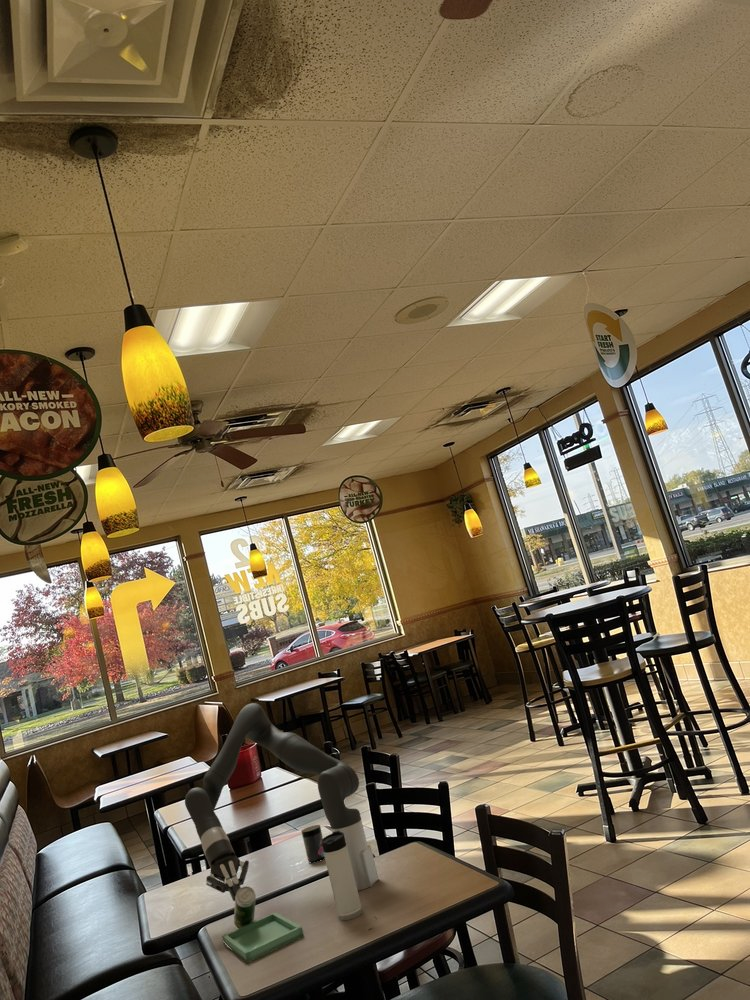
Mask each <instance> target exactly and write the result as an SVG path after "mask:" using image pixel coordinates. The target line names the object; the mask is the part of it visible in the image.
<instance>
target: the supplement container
mask: <svg viewBox="0 0 750 1000" xmlns="http://www.w3.org/2000/svg"><path fill="white" fill-rule="evenodd" d="M301 837H302V840H303V844H304V849H305V853H306V857H307V861H308V863H310V862H311V863H310V864H315V863H314V862H317V861H320V860H322V861H324V860H325V859H324V858H325V856H324V851H323V846H322V842H321V841H322V839H323V838H324V836H323V832H322V828H321V825H320V824H314V825H311V826H308V827H305V828H304V829H302V830H301ZM323 859H324V860H323ZM320 862H321V861H320ZM317 863H318V862H317Z"/></svg>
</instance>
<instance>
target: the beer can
mask: <svg viewBox="0 0 750 1000" xmlns="http://www.w3.org/2000/svg"><path fill="white" fill-rule="evenodd" d="M256 895H257V894H256V892H255V890H254V888H252V887H251V886H248V885H246V886H242V887H241V888H240V889H239V890H238V891H237V894H236V896H235V901H234V910H233V911H234V912H233V913H234V915H233V923H234V926H235V927H236V929H238V928H241V927H243V926H245V925H247V924H250V923H252V922H254V921H255V912H256V911H255V910H256V900H257V899H256V898H257V897H256Z"/></svg>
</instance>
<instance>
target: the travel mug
mask: <svg viewBox="0 0 750 1000" xmlns="http://www.w3.org/2000/svg"><path fill="white" fill-rule="evenodd" d="M321 842H322V846H323V851H324V856H325V859H324V860H325V864H326V868H327V873H328V876H329V881H330V887H331V890H332V894H333V898H334V902H335V907H336V911H337V915H338V919H339V920H340V921H350V920H353V919H355V918H358V917H359V916H360V915H362V913H363V908H362V905H361V900H360V895H359V890H357V886H356V882H355V878H354V874H353V870H352V865H351V861H350V857H349V853H348V849H347V845H346V842H345V837H344V833H343V832H340V831H335V832H333V833H332V832H331V833H330V834H328V835H326V836H324V837H323V839H322V841H321Z"/></svg>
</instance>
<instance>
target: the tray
mask: <svg viewBox="0 0 750 1000" xmlns="http://www.w3.org/2000/svg"><path fill="white" fill-rule="evenodd" d="M221 937H222V941H224V942H225V943H226V944H227V945H228V946H229V947H230V948H231V949H232V950H233V951H234V952H235V953H236V954H235V953H234V952H233V951H232V950H231V951H232V952H233V953H234V954H235V955H236V956H238V957H239V958H240V959H241V960H243V961H244V962H245V963H247V964H249V963H251V962H253V961H255V960H257V959H259V958H261V957H263V956H265V955H268V954H270V953H272V952H274V951H276V950H278V949H280V948H282V947H284V946H287V945H288V944H290V943H293V942H295V941H297V940H299V939H301V938H303V937H305V935H304V930H303V927H302V926H301V925H299V924H298V923H296V922H294V921H292V920H291V919H288V918H286V917H284V916H282V915H281V914H279V913H277V912H275V911H274V912H272V913H270V914H268V915H266V916H263V917H261V918H259V919H256V920H254V921H253V922H252V923H250V924H247V925H245V926H243V927H241V928H236V929H234V930H231V931H230V932H227V933H226V934H223V935H221ZM224 942H223V943H224Z"/></svg>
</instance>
